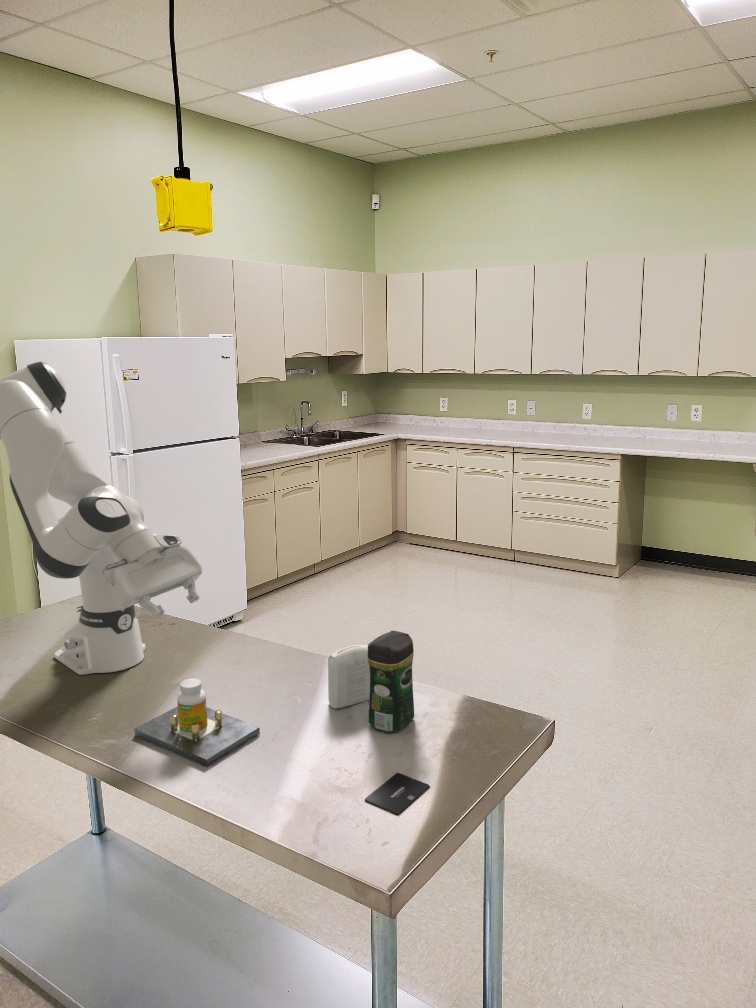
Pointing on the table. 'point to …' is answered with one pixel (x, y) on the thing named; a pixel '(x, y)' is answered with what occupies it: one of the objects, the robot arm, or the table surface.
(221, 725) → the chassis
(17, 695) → the table surface
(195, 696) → the supplement bottle
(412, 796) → the solid state drive
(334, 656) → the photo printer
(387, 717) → the coffee jar
